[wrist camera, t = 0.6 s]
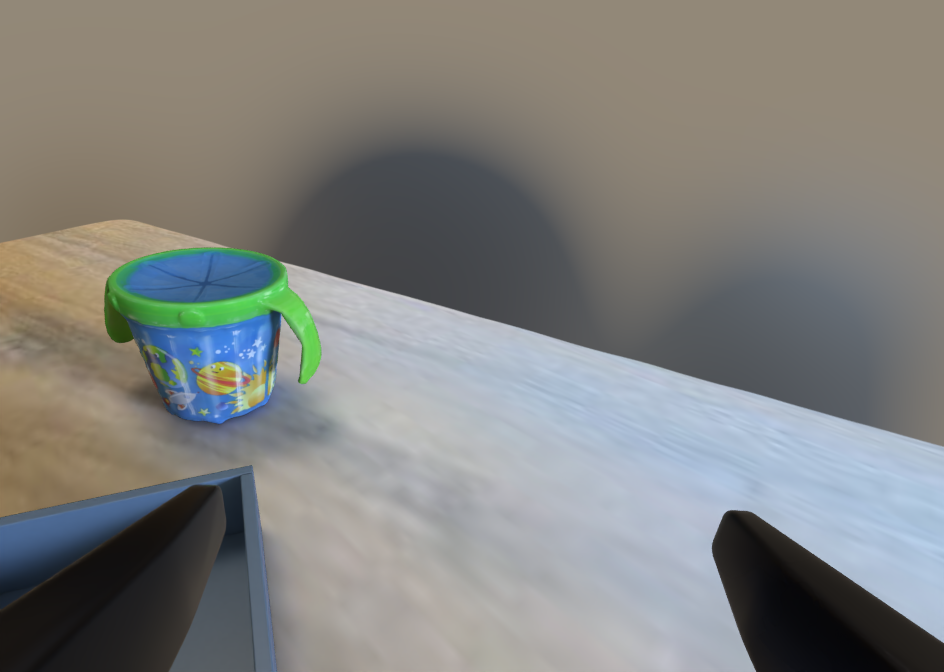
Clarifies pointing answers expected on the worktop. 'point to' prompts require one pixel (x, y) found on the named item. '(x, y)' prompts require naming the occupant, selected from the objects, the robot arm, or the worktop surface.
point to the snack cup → (209, 327)
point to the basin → (228, 587)
